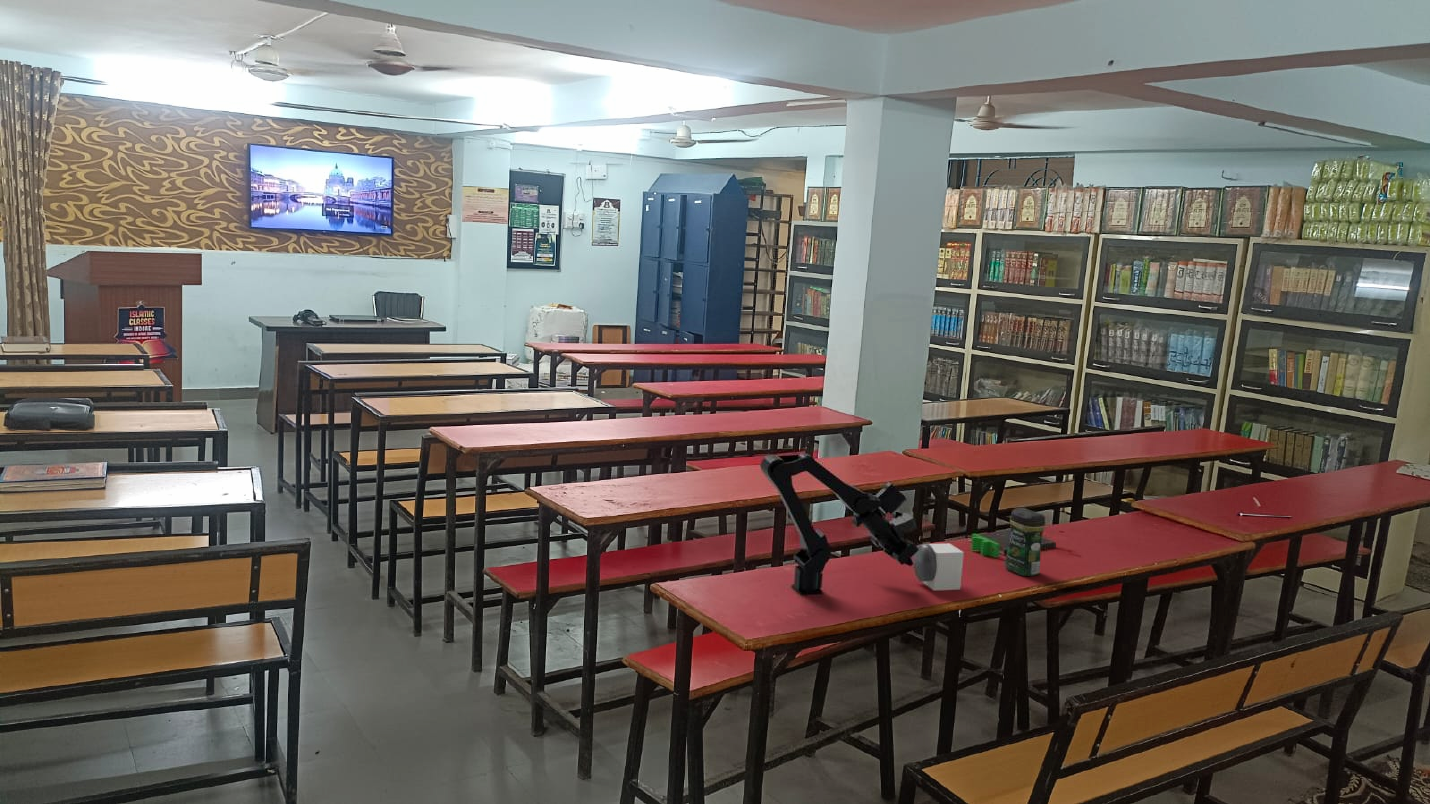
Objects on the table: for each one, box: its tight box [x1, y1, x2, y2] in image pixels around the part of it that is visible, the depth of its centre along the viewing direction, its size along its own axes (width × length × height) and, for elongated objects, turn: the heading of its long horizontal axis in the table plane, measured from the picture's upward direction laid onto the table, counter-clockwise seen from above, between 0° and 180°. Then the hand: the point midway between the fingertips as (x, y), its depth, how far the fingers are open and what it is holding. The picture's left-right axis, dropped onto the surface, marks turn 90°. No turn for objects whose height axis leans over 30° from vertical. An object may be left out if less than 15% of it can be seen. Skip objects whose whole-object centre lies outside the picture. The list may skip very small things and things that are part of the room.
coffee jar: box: [1004, 507, 1046, 577], centre depth 285 cm, size 10×8×19 cm
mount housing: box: [921, 543, 965, 591], centre depth 270 cm, size 8×8×10 cm
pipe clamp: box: [970, 533, 1000, 559], centre depth 302 cm, size 11×4×5 cm, turn 26°
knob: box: [912, 543, 937, 582], centre depth 269 cm, size 7×10×10 cm
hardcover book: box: [966, 529, 1057, 556], centre depth 313 cm, size 16×23×2 cm
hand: (911, 564), depth 267 cm, fingers closed
